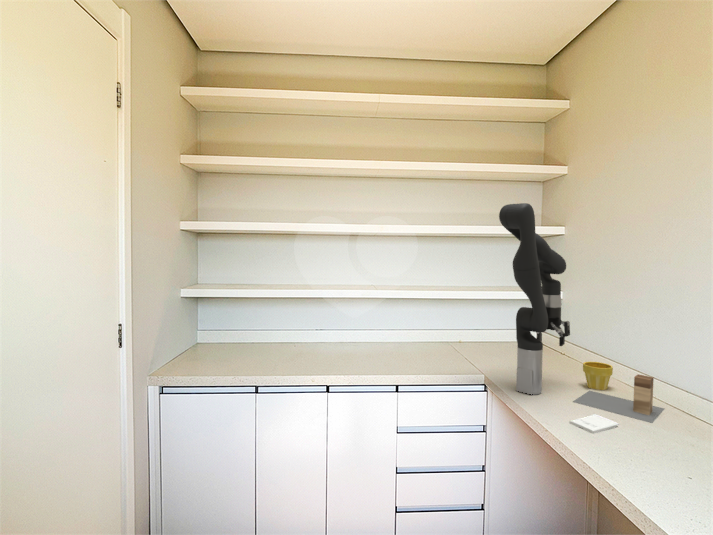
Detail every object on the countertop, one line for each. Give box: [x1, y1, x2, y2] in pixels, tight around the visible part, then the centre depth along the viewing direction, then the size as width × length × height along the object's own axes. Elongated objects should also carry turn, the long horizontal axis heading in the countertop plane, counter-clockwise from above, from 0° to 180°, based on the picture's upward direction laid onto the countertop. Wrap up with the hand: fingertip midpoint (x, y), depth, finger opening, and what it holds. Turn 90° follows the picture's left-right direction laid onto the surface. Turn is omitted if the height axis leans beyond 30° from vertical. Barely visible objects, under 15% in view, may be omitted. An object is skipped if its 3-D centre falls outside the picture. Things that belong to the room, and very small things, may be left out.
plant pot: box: [582, 361, 614, 391], centre depth 162 cm, size 10×10×10 cm
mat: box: [572, 390, 665, 424], centre depth 143 cm, size 18×24×1 cm
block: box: [633, 373, 655, 415], centre depth 137 cm, size 4×4×12 cm
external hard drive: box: [569, 413, 620, 435], centre depth 128 cm, size 2×8×12 cm
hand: (550, 344), depth 165 cm, fingers open, 8 cm apart
